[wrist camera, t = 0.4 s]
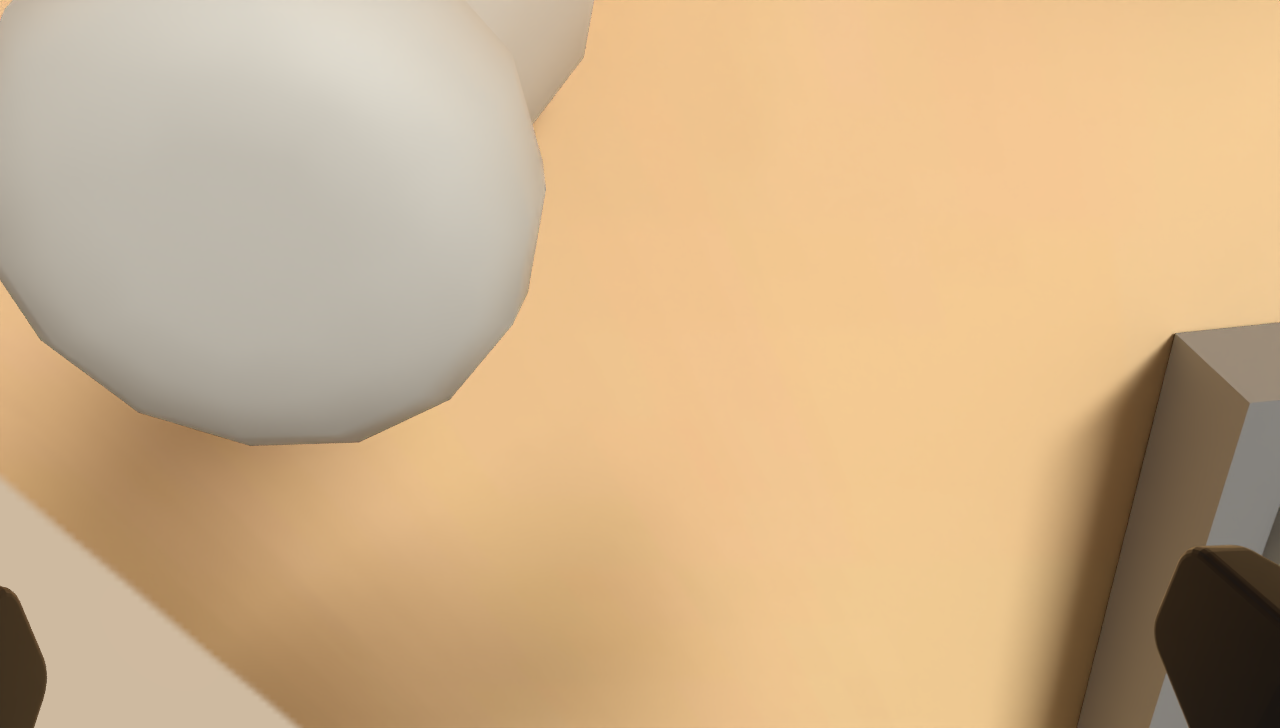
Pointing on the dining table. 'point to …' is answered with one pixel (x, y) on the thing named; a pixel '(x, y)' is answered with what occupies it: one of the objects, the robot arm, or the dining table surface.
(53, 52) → the salt shaker
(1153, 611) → the keypad
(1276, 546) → the key offwhite
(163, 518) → the dining table surface
